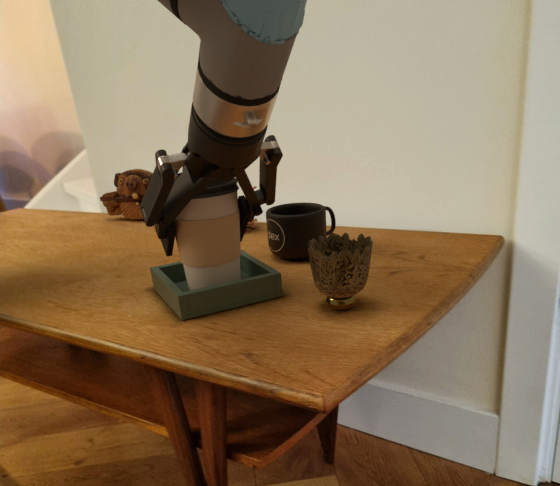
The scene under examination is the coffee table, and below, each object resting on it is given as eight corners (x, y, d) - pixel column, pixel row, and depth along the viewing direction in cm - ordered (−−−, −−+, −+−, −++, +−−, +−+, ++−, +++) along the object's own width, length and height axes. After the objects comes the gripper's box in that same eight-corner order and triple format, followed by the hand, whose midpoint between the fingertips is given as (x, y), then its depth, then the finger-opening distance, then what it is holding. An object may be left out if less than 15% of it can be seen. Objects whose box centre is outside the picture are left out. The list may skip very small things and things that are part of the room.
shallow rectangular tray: (182, 320, 66) (177, 296, 64) (153, 288, 77) (149, 267, 75) (282, 296, 71) (281, 272, 69) (242, 269, 82) (240, 248, 80)
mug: (291, 268, 80) (288, 219, 77) (258, 255, 87) (254, 209, 84) (353, 250, 86) (353, 203, 83) (318, 239, 93) (316, 196, 89)
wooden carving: (100, 223, 116) (88, 173, 111) (110, 217, 120) (100, 169, 115) (172, 221, 112) (164, 170, 108) (180, 216, 116) (173, 166, 112)
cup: (298, 312, 66) (294, 246, 62) (328, 291, 71) (326, 229, 67) (354, 322, 62) (354, 252, 58) (382, 300, 67) (383, 234, 63)
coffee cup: (172, 286, 75) (152, 171, 68) (233, 272, 79) (220, 161, 72) (194, 306, 68) (174, 179, 61) (260, 290, 72) (248, 168, 64)
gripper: (130, 157, 48) (128, 281, 69) (343, 129, 56) (285, 248, 76) (105, 89, 50) (111, 230, 70) (315, 71, 58) (265, 203, 78)
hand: (201, 240), depth 73 cm, fingers closed on coffee cup, 9 cm apart
